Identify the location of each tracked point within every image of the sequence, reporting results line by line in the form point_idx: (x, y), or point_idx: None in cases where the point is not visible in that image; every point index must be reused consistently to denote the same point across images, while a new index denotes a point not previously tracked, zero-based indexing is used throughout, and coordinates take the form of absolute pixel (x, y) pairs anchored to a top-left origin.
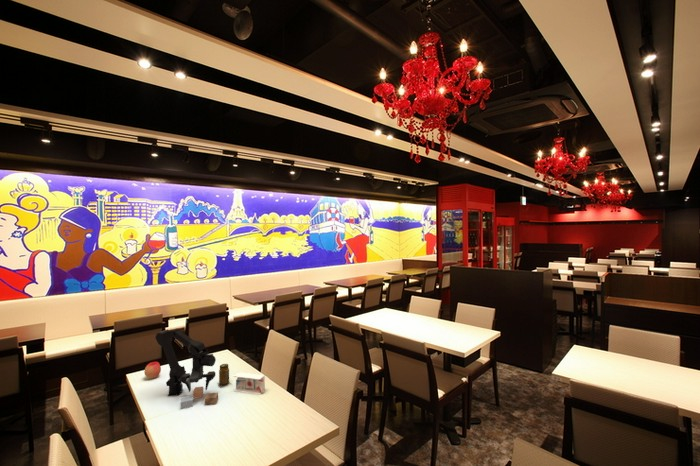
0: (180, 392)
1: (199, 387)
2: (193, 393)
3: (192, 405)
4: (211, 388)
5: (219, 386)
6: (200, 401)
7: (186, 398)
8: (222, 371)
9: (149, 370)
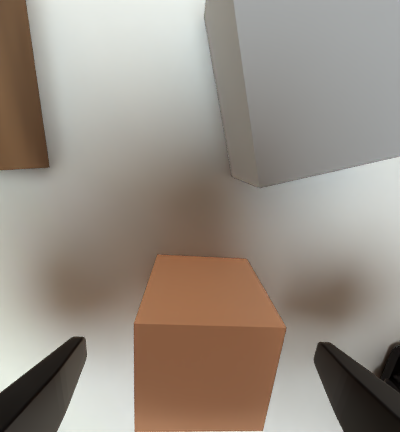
0: (392, 380)
1: (192, 413)
2: (259, 293)
3: (208, 4)
4: (104, 407)
5: None
6: (133, 152)
7: (376, 50)
8: None
9: None
